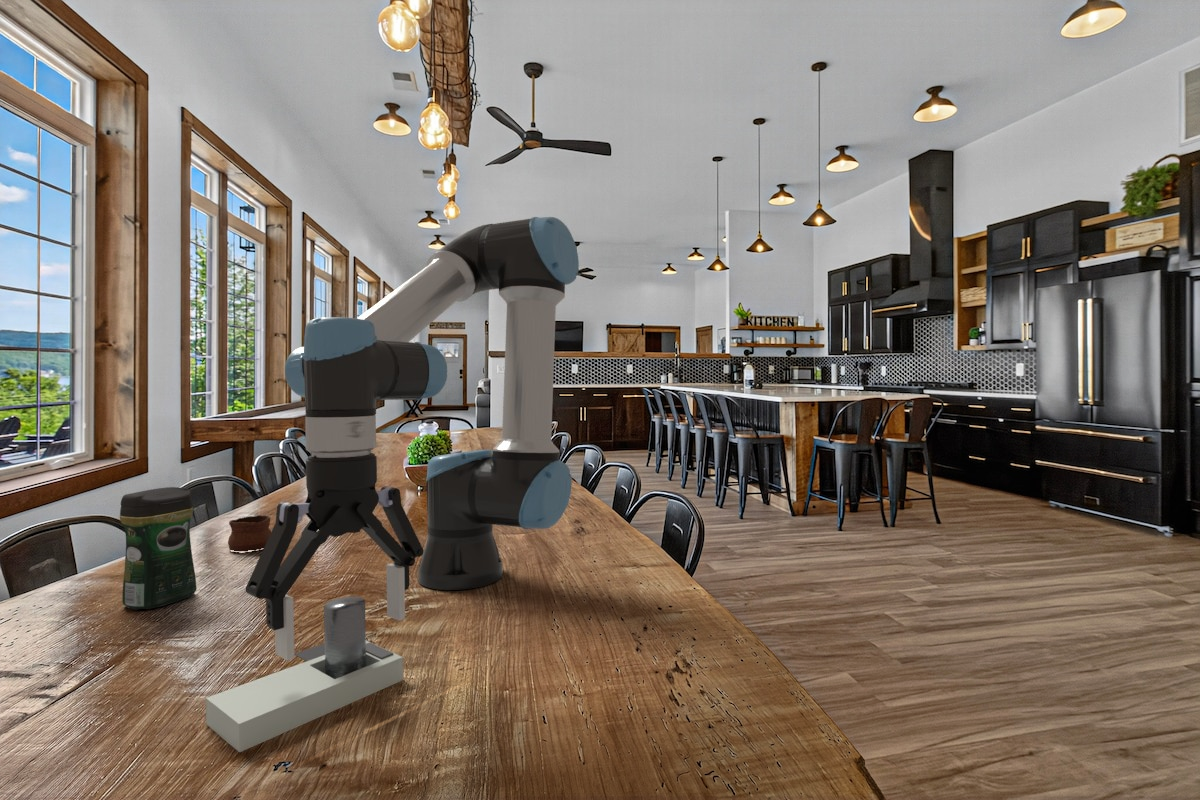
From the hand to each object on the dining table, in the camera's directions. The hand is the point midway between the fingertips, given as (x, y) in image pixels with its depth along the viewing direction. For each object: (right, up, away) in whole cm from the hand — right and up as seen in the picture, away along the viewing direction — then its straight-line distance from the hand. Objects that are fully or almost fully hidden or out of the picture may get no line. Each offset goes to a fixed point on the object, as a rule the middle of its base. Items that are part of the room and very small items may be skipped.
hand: (344, 635), depth 71 cm
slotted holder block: (-2, -6, -3) cm, 7 cm away
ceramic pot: (-47, -6, +62) cm, 78 cm away
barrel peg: (0, -6, 0) cm, 6 cm away
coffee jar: (-43, -6, +30) cm, 52 cm away
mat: (-5, -6, +9) cm, 12 cm away
